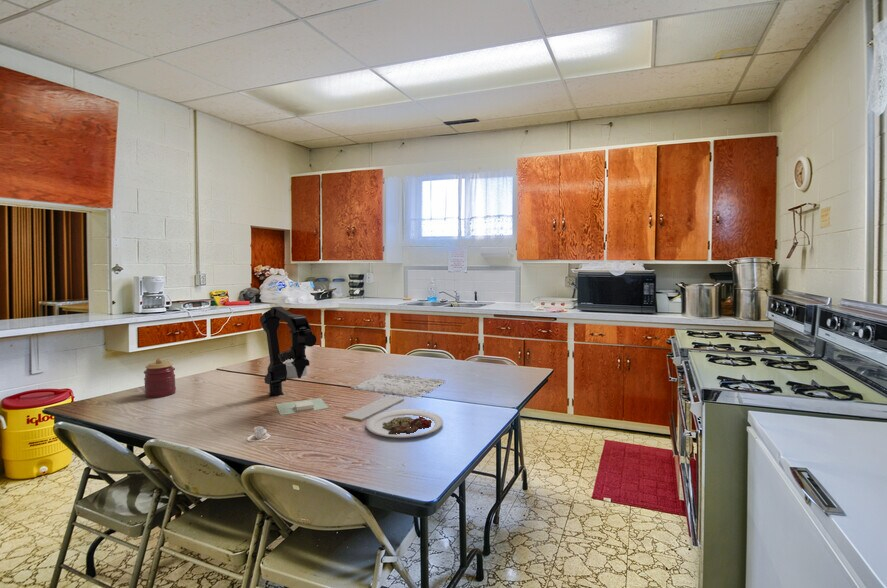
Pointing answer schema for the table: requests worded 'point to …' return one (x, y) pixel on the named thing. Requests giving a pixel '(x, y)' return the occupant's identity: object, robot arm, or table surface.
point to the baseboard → (373, 408)
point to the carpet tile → (399, 385)
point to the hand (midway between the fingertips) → (299, 378)
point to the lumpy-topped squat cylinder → (293, 370)
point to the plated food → (402, 423)
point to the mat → (290, 409)
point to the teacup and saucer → (259, 434)
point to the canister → (159, 379)
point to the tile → (304, 406)
